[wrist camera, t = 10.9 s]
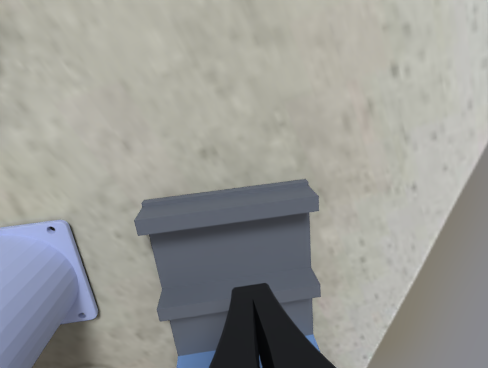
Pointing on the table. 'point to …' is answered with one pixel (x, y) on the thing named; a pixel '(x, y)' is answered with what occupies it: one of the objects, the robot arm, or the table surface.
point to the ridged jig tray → (230, 258)
